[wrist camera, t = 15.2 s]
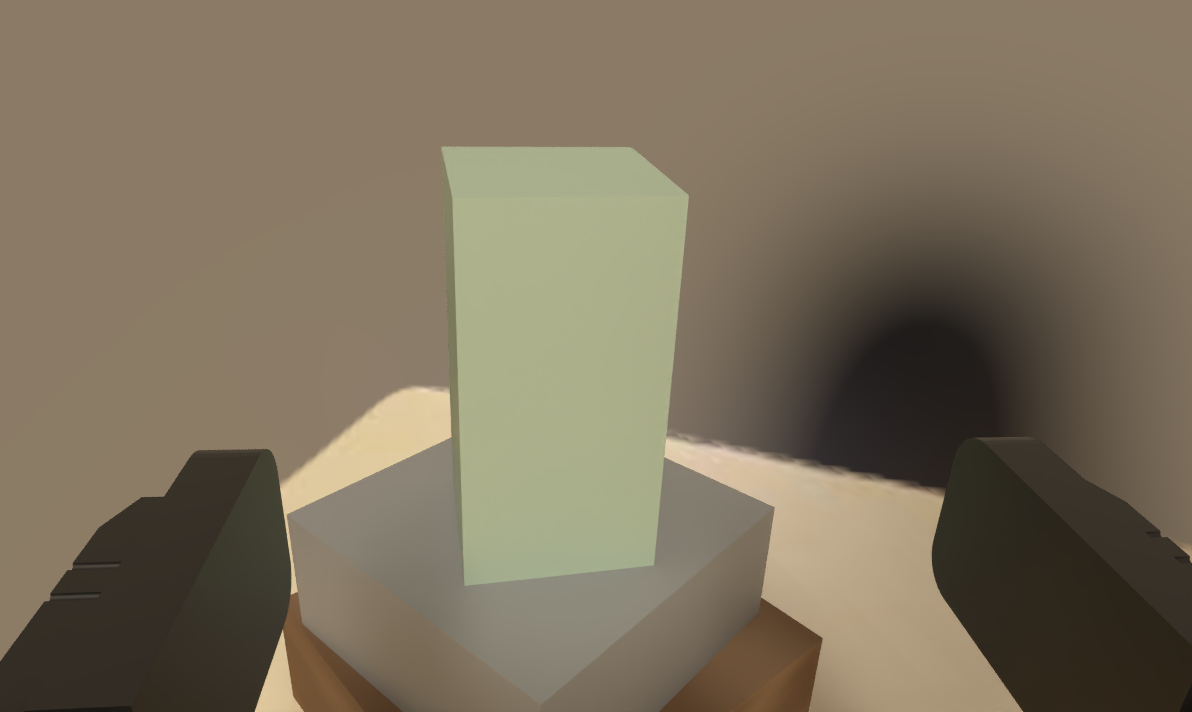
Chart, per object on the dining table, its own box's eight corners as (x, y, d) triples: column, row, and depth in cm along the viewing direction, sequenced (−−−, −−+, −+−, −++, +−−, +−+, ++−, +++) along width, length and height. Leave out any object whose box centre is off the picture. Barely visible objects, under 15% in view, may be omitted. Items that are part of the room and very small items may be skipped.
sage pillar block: (611, 463, 26) (631, 147, 22) (654, 565, 22) (688, 195, 18) (453, 476, 25) (441, 146, 21) (464, 586, 21) (452, 198, 17)
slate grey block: (533, 490, 32) (534, 398, 30) (758, 612, 26) (774, 507, 25) (302, 624, 25) (286, 514, 23) (539, 830, 19) (541, 704, 18)
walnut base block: (568, 562, 35) (570, 471, 33) (801, 743, 27) (822, 638, 25) (295, 705, 28) (278, 600, 26) (505, 1012, 20) (503, 892, 18)
